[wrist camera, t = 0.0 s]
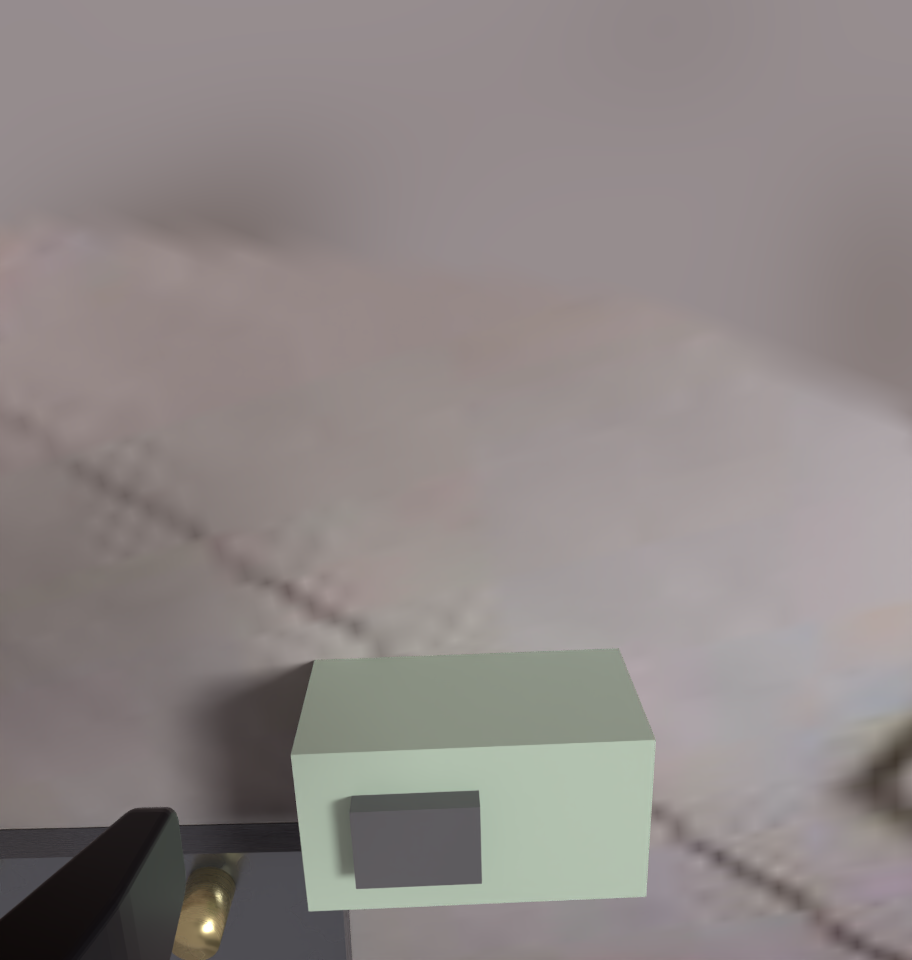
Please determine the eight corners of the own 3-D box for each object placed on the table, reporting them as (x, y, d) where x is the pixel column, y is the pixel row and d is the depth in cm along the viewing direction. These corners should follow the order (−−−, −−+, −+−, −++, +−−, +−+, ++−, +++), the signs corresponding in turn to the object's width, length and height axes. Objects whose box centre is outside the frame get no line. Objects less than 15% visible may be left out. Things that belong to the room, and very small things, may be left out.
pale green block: (611, 782, 26) (651, 915, 22) (328, 794, 26) (305, 930, 21) (617, 645, 25) (662, 755, 20) (315, 656, 25) (286, 771, 20)
